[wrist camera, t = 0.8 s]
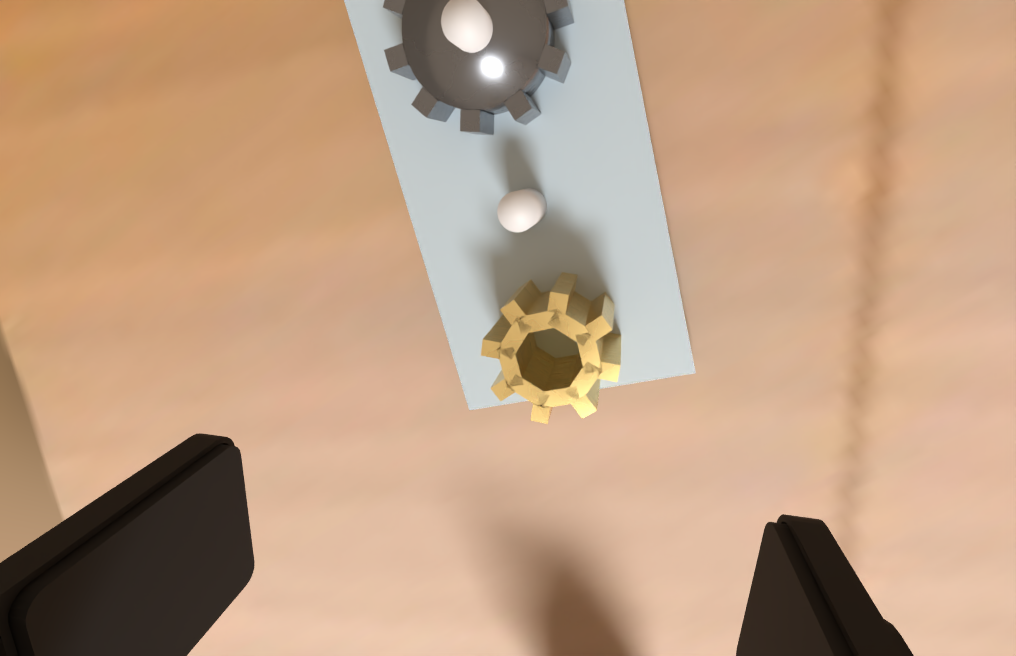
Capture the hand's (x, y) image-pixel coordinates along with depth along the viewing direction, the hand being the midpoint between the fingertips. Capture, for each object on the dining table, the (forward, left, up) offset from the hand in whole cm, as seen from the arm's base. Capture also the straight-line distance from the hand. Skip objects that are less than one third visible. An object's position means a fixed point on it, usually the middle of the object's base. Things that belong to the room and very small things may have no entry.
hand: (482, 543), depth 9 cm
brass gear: (+2, +3, -22) cm, 23 cm away
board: (+2, -6, -24) cm, 25 cm away
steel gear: (+2, -13, -22) cm, 26 cm away
